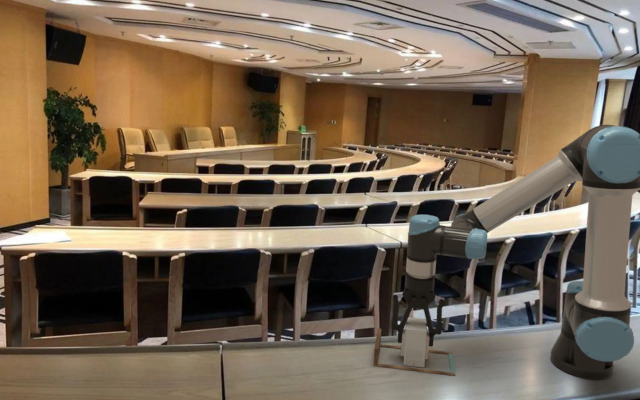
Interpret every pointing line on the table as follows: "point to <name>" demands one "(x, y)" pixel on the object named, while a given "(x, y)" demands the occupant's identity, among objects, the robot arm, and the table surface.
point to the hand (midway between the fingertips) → (414, 354)
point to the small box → (415, 342)
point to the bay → (376, 357)
